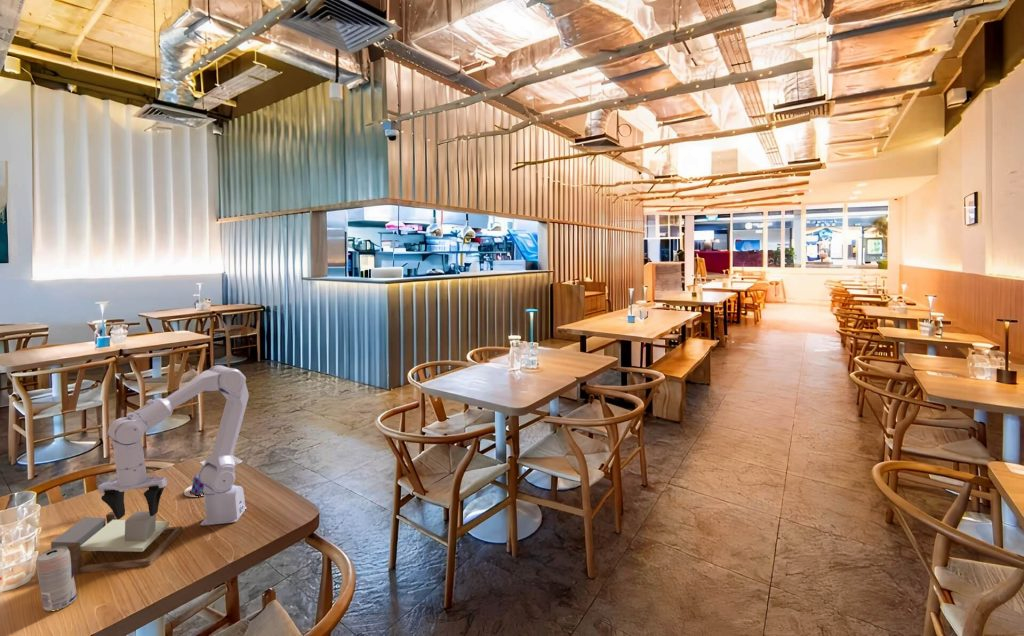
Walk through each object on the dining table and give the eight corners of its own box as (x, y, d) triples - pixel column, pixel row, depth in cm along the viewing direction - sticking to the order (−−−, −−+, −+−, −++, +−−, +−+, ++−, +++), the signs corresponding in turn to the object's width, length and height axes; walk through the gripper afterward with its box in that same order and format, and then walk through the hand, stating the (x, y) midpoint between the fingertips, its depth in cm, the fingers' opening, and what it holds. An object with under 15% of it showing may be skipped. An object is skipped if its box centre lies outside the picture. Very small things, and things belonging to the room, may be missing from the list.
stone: (155, 531, 125) (156, 511, 124) (144, 541, 120) (145, 521, 119) (135, 530, 124) (136, 511, 123) (124, 540, 119) (125, 520, 119)
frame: (183, 529, 132) (179, 505, 131) (149, 565, 117) (145, 538, 116) (88, 539, 128) (84, 514, 127) (40, 577, 113) (36, 550, 112)
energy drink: (74, 591, 108) (66, 542, 106) (79, 601, 105) (71, 551, 103) (42, 605, 104) (33, 554, 102) (45, 616, 101) (36, 564, 99)
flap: (169, 527, 129) (169, 518, 129) (142, 554, 118) (142, 545, 117) (85, 524, 126) (85, 516, 126) (49, 552, 114) (49, 543, 114)
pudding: (181, 489, 156) (179, 474, 155) (223, 477, 164) (221, 462, 163) (187, 503, 147) (185, 487, 146) (231, 489, 155) (229, 474, 154)
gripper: (86, 475, 114) (94, 527, 116) (152, 469, 116) (159, 520, 118) (106, 462, 121) (114, 512, 123) (168, 457, 123) (175, 506, 125)
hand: (137, 515), depth 121 cm, fingers open, 7 cm apart
